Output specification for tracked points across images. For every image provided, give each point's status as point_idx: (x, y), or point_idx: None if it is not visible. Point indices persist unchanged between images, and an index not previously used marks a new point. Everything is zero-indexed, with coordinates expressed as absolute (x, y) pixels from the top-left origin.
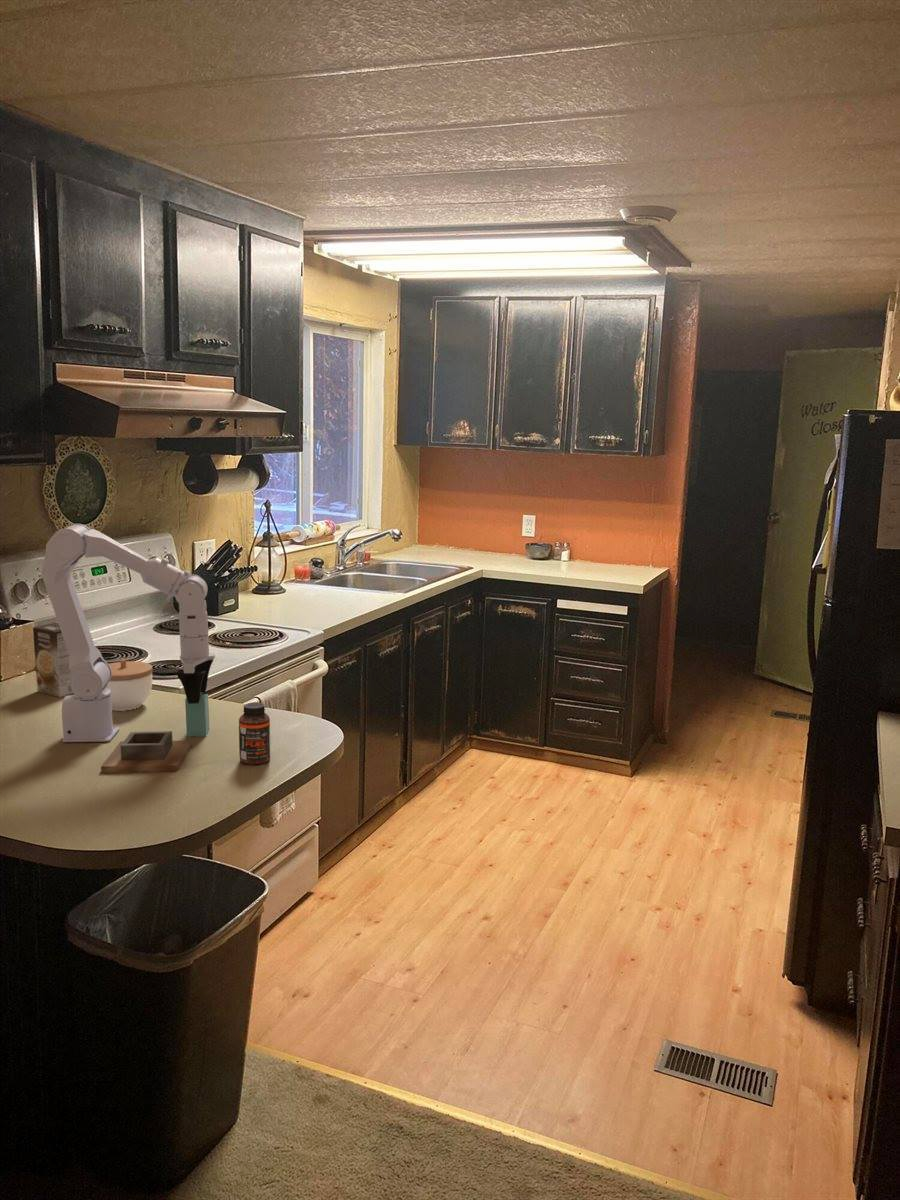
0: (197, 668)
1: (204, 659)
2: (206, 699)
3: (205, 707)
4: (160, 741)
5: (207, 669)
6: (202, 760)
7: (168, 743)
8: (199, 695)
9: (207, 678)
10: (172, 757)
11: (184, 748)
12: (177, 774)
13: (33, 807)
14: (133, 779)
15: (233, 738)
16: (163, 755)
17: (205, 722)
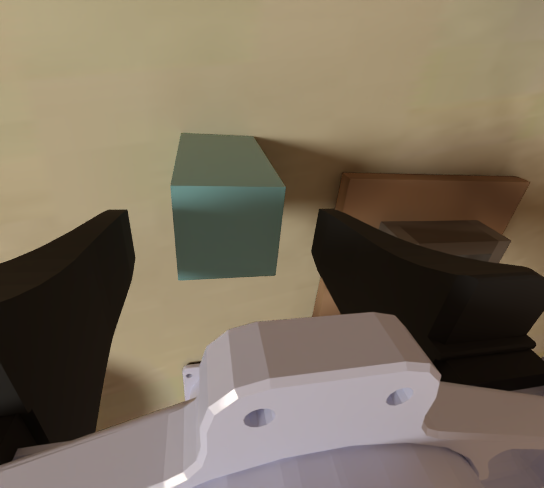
0: (81, 367)
1: (485, 413)
2: (229, 180)
3: (263, 170)
4: (480, 253)
5: (60, 287)
6: (474, 118)
7: (442, 232)
8: (360, 221)
9: (74, 240)
10: (471, 203)
11: (416, 185)
12: (535, 171)
13: (536, 346)
14: (510, 254)
15: (292, 14)
16: (485, 226)
17: (262, 151)
